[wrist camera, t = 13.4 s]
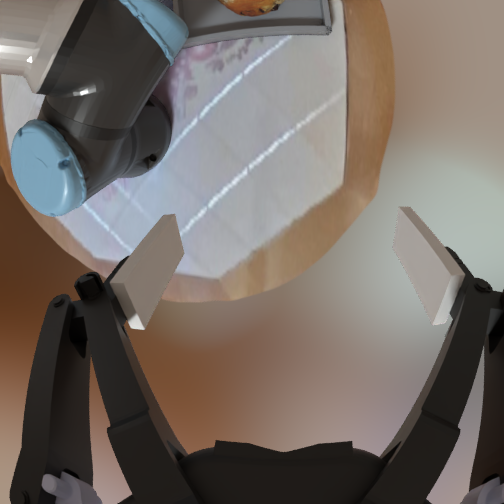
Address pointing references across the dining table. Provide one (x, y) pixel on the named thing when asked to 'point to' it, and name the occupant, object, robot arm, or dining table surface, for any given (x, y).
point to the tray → (251, 21)
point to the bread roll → (251, 6)
